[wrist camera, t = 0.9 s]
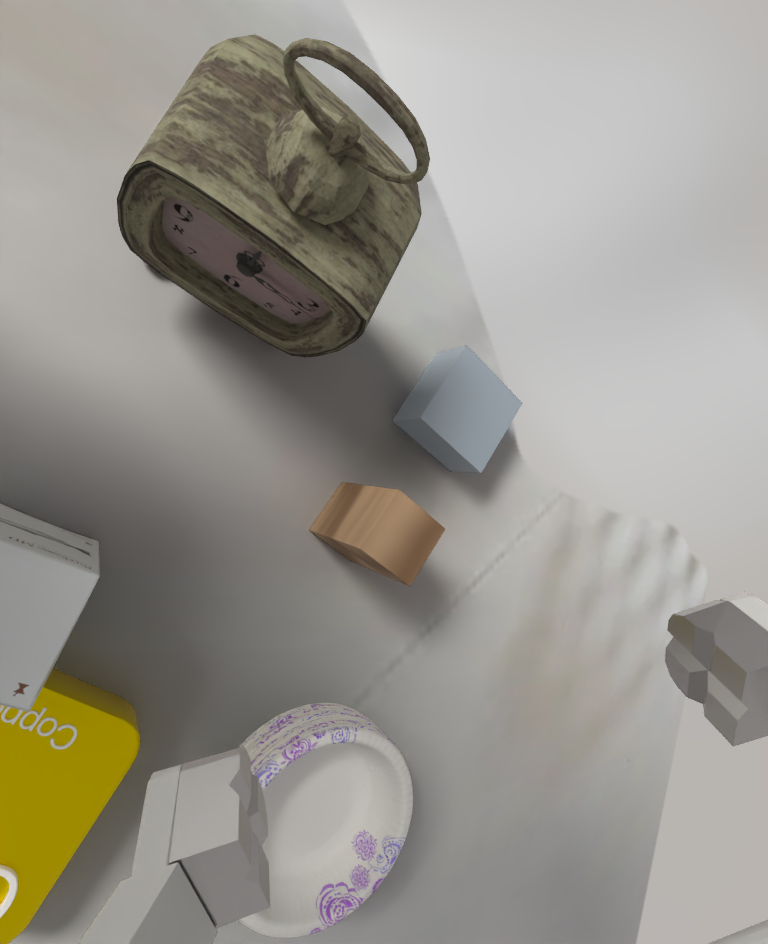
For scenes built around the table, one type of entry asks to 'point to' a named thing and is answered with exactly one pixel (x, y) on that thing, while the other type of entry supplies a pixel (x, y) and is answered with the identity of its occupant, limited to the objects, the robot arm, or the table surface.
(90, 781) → the element tile
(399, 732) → the table surface
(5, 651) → the supplement box
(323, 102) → the tabletop clock
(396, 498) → the walnut pillar
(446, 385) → the slate block
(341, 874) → the paper bowls
